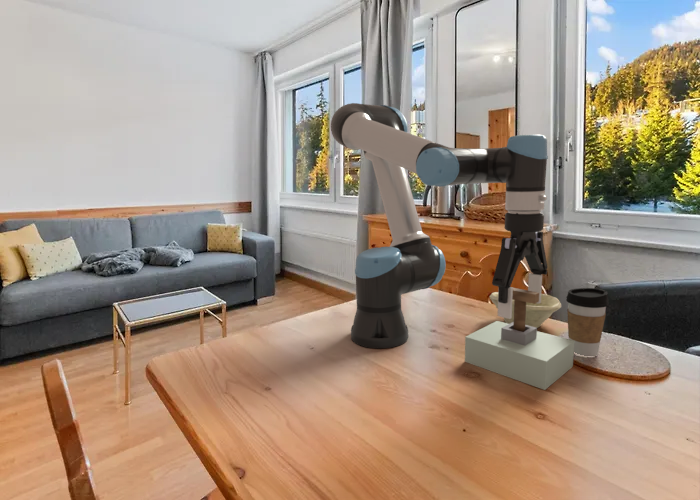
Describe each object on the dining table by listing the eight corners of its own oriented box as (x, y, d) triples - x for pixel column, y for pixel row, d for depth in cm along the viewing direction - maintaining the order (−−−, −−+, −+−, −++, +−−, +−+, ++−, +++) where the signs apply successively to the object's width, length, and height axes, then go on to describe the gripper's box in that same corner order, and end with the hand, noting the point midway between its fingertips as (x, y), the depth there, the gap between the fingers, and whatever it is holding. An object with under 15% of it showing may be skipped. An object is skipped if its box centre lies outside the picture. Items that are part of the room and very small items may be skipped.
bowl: (493, 340, 117) (484, 297, 126) (562, 337, 114) (547, 292, 123) (498, 314, 106) (488, 269, 116) (573, 310, 104) (556, 264, 113)
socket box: (464, 361, 95) (465, 326, 93) (496, 343, 104) (497, 311, 103) (544, 390, 82) (547, 349, 80) (572, 366, 91) (575, 329, 89)
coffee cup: (610, 361, 93) (615, 296, 90) (569, 359, 94) (573, 295, 92) (596, 346, 101) (601, 286, 98) (558, 344, 102) (562, 285, 100)
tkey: (501, 335, 94) (502, 288, 92) (506, 333, 95) (508, 286, 93) (531, 344, 88) (534, 294, 86) (536, 341, 90) (539, 292, 88)
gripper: (512, 218, 76) (508, 329, 80) (567, 207, 92) (561, 299, 96) (475, 216, 81) (473, 319, 85) (533, 206, 98) (529, 293, 102)
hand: (520, 309), depth 91 cm, fingers open, 13 cm apart
